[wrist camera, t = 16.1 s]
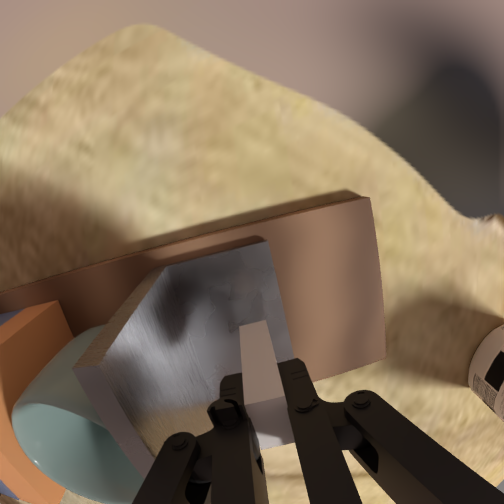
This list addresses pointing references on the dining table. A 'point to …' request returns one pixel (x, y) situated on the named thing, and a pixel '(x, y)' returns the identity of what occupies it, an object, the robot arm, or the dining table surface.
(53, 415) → the cup
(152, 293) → the bookend
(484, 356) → the supplement can
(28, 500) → the book terracotta
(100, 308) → the shelf
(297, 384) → the robot arm
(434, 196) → the dining table surface
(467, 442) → the dining table surface
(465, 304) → the dining table surface
